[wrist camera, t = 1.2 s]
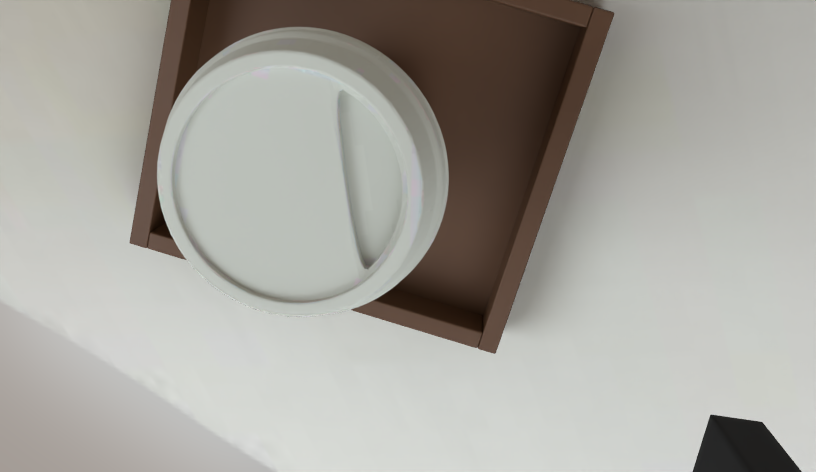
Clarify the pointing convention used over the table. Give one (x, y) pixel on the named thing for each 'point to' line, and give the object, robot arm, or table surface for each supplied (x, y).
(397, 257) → the coffee cup
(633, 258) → the table surface
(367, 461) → the table surface
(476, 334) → the tray
